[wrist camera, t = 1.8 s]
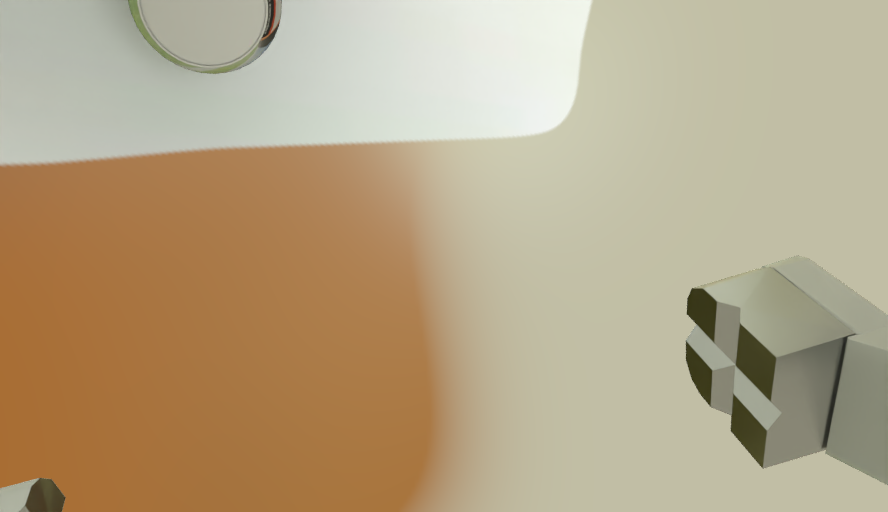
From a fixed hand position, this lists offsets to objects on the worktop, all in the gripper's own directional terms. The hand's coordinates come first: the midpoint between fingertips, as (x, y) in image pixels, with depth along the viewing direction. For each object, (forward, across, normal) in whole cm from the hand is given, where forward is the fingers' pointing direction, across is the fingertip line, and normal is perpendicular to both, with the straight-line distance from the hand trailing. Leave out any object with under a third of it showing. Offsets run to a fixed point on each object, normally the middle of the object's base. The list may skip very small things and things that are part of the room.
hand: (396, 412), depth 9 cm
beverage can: (+35, +4, -1) cm, 36 cm away
